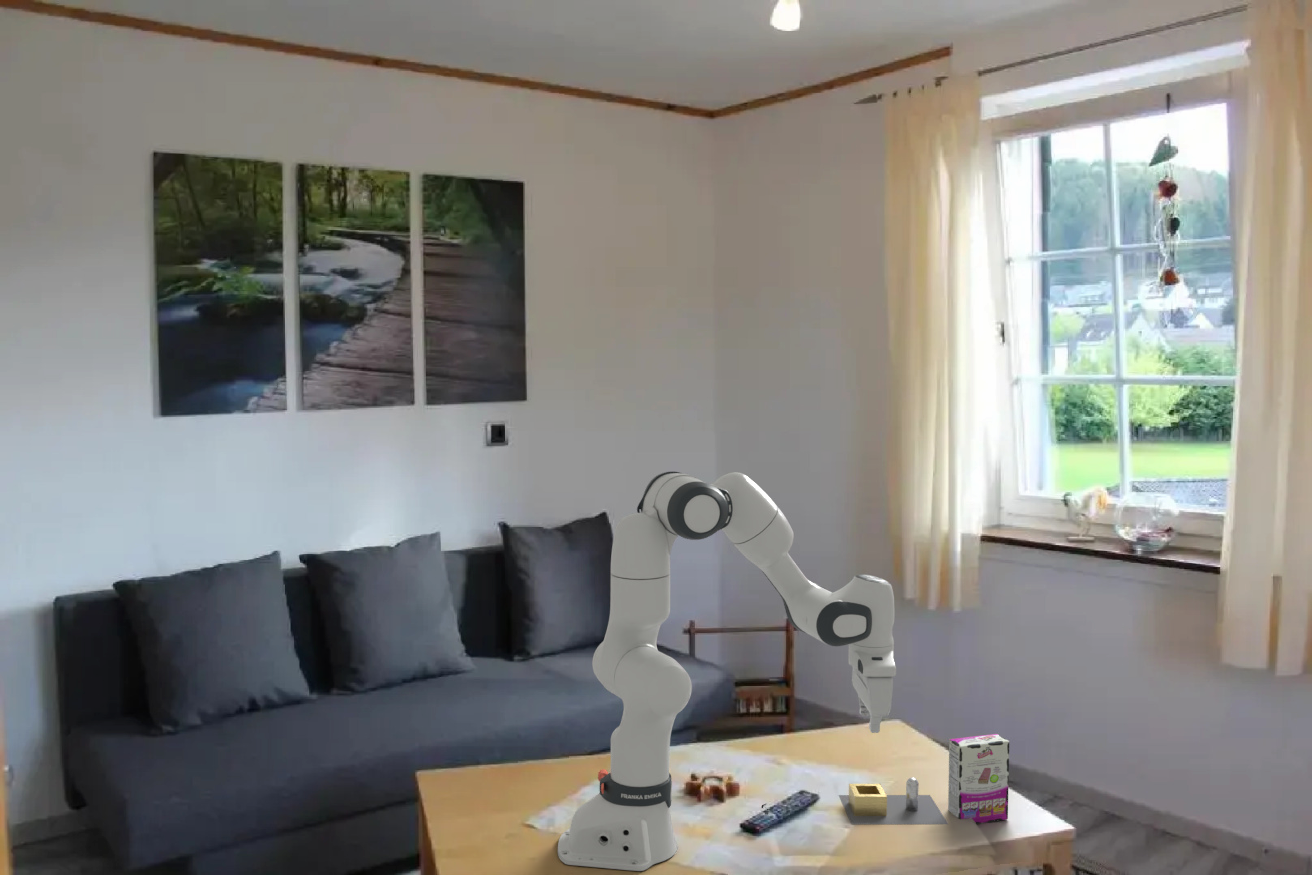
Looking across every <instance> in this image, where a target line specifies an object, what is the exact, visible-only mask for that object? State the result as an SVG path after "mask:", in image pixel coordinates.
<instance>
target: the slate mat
mask: <svg viewBox="0 0 1312 875" xmlns="http://www.w3.org/2000/svg"><path fill="white" fill-rule="evenodd" d="M886 795H887V816H854V814H853V811H852V809H851V807H850V805H849V794H839V795H838V796H839V800H840V801H841V803H842V805H843V808H844V810H845V812H846V814H847V817H848V819H849V822H850V823H851V825H949V823H948V821H947V820H946V818H945V817H944V815H943V814H942V812H941V810H940V809H939V807H938V805H937V804H936V802H935V801H934V799H933V798H932V796H931V795H930V794H918V810H917V811H915V812H911V811H908V810H906V794H886Z"/></svg>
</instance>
